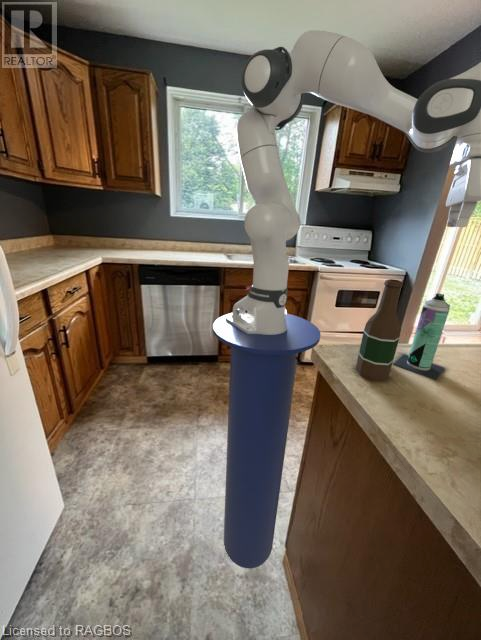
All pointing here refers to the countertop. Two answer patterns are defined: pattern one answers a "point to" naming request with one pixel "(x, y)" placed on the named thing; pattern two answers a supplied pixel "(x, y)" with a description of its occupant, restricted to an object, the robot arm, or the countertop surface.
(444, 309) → the spray can
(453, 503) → the countertop surface
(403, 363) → the mat
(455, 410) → the countertop surface
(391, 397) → the countertop surface
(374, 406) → the countertop surface
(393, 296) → the beer bottle
